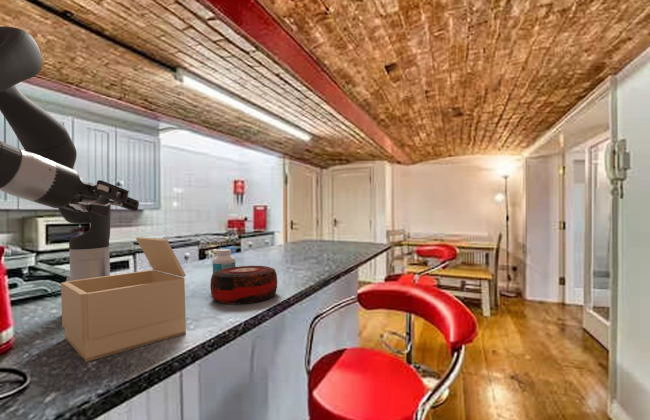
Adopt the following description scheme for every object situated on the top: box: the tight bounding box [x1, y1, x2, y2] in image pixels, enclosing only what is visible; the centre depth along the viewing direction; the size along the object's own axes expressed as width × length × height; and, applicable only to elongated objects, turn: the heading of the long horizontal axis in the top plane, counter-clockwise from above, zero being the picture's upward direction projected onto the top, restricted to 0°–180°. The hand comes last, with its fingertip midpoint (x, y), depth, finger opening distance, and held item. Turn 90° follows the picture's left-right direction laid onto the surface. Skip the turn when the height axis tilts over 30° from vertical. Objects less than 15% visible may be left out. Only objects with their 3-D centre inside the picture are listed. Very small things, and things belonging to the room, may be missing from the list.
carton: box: [60, 269, 187, 363], centre depth 74 cm, size 18×19×12 cm
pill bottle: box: [212, 248, 237, 274], centre depth 116 cm, size 8×7×14 cm
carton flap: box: [135, 236, 187, 278], centre depth 79 cm, size 9×17×1 cm
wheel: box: [210, 265, 278, 305], centre depth 106 cm, size 20×8×20 cm
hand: (121, 209), depth 72 cm, fingers open, 8 cm apart
